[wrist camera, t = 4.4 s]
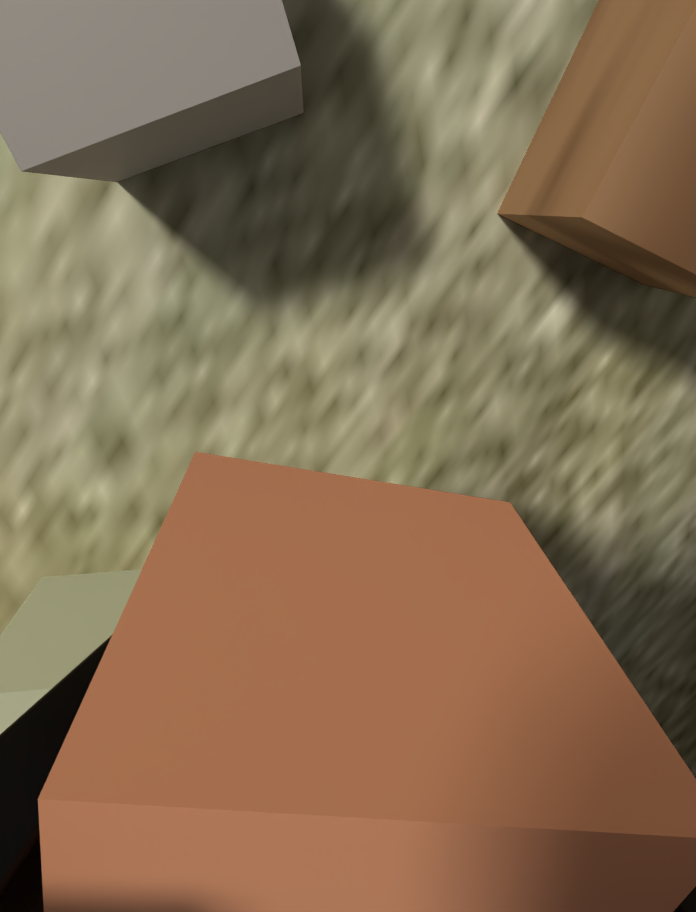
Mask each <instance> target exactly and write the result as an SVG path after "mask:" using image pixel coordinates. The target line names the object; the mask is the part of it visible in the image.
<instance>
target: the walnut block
mask: <svg viewBox="0 0 696 912" xmlns="http://www.w3.org/2000/svg"><path fill="white" fill-rule="evenodd" d="M497 214H499V215H501V216H503V217H505V218H507V219H509V220H511V221H513V222H515V223H517V224H520V225H522V226H524V227H526V228H528V229H530V230H532V231H534V232H536V233H538V234H540V235H542V236H544V237H546V238H548V239H550V240H553V241H555V242H557V243H559V244H561V245H563V246H565V247H567V248H569V249H571V250H573V251H575V252H577V253H579V254H581V255H583V256H586V257H588V258H590V259H592V260H594V261H596V262H598V263H600V264H602V265H604V266H606V267H608V268H610V269H612V270H614V271H617V272H619V273H621V274H623V275H625V276H627V277H629V278H631V279H633V280H635V281H637V282H639V283H641V284H643V285H646V286H650V287H655V288H659V289H663V290H667V291H671V292H676V293H680V294H684V295H688V296H692V297H696V0H599V1H598V3H597V5H596V8H595V10H594V12H593V14H592V16H591V18H590V20H589V22H588V24H587V26H586V29H585V31H584V33H583V35H582V37H581V39H580V41H579V43H578V45H577V47H576V49H575V52H574V54H573V56H572V58H571V60H570V62H569V64H568V66H567V68H566V70H565V73H564V75H563V77H562V79H561V81H560V83H559V85H558V87H557V89H556V91H555V93H554V96H553V98H552V100H551V102H550V104H549V106H548V108H547V110H546V112H545V114H544V117H543V119H542V121H541V123H540V125H539V127H538V129H537V131H536V133H535V135H534V138H533V140H532V142H531V144H530V146H529V148H528V150H527V152H526V154H525V156H524V158H523V161H522V163H521V165H520V167H519V169H518V171H517V173H516V175H515V177H514V179H513V182H512V184H511V186H510V188H509V190H508V192H507V194H506V196H505V198H504V200H503V203H502V205H501V207H500V209H499V211H498V213H497Z"/></svg>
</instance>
